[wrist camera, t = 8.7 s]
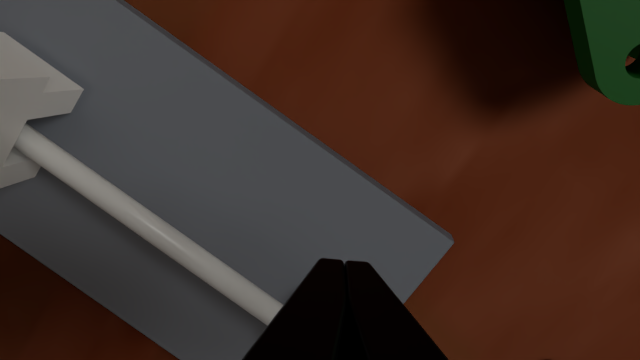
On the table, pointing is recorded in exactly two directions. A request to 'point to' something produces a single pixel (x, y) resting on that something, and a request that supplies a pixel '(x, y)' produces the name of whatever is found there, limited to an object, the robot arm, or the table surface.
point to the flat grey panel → (187, 187)
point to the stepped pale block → (27, 103)
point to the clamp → (607, 46)
